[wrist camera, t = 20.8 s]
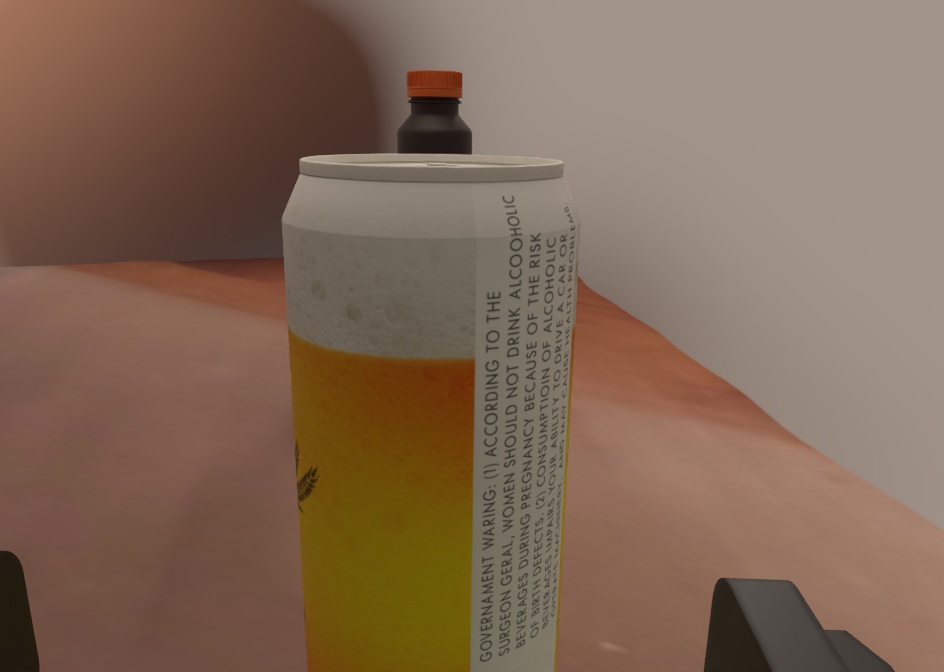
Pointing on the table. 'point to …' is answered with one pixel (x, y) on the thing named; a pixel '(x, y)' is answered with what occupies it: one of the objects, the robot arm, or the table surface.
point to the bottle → (434, 115)
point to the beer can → (431, 407)
